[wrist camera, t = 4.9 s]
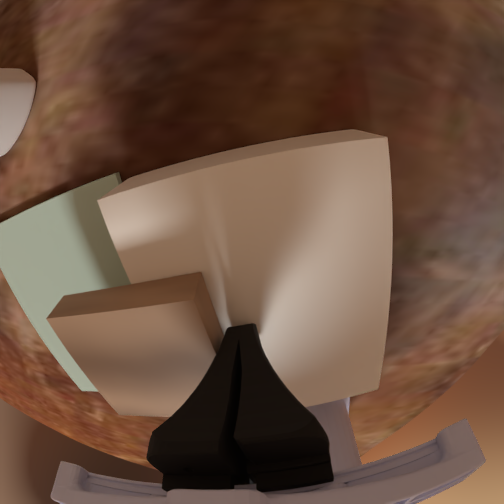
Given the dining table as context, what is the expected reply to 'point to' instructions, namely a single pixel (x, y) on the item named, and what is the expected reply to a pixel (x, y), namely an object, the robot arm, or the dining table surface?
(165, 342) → the walnut tile
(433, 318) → the dining table surface
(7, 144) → the eye dropper bottle
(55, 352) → the mat
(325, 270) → the cream flat block
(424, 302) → the dining table surface
